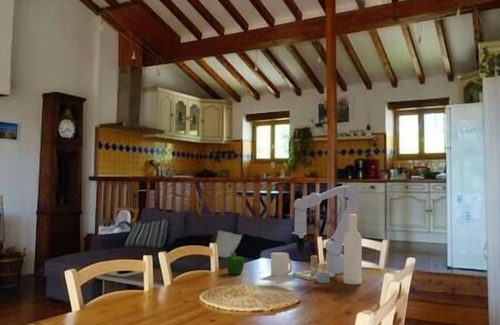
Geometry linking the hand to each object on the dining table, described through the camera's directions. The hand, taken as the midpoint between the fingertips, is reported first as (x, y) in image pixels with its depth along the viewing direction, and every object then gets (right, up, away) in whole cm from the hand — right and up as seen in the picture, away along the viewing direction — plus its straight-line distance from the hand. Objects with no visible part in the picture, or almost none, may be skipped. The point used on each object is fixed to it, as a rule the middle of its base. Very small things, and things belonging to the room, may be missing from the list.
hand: (300, 251), depth 223 cm
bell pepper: (-32, -10, -6) cm, 33 cm away
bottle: (+20, -10, -23) cm, 32 cm away
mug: (-9, -10, -10) cm, 17 cm away
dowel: (+5, -9, -10) cm, 15 cm away
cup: (+8, -9, -22) cm, 25 cm away
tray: (+5, -10, -10) cm, 15 cm away
